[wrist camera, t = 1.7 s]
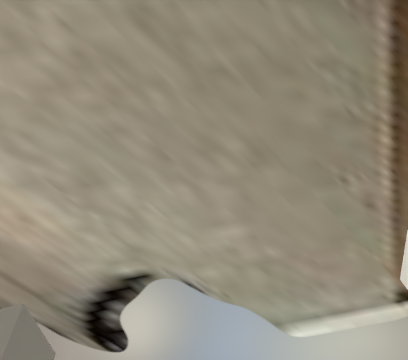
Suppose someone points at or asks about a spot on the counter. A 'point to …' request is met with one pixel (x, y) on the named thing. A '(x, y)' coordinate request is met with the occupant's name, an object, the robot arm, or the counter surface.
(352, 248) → the counter surface
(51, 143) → the counter surface
